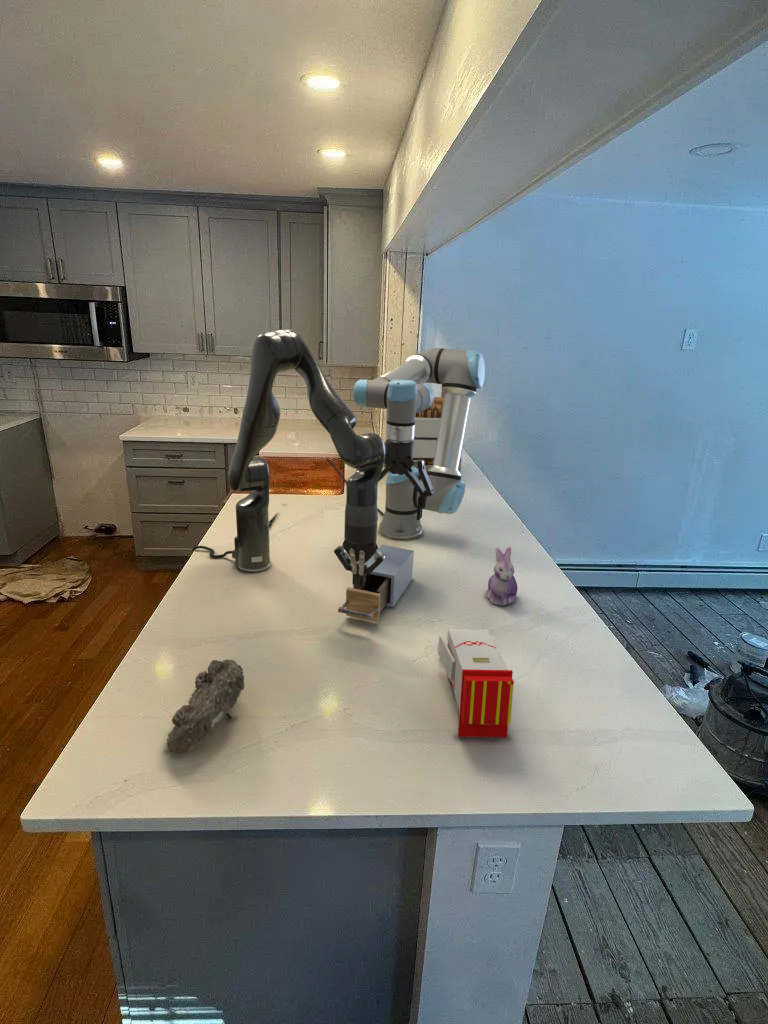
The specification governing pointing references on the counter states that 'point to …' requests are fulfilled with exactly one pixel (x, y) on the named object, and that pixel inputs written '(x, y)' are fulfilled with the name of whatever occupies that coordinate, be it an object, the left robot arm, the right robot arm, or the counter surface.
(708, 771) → the counter surface
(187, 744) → the fossil
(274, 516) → the feather
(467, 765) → the counter surface
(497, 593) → the figurine
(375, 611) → the drawer
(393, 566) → the cabinet
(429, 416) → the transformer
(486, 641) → the toy
